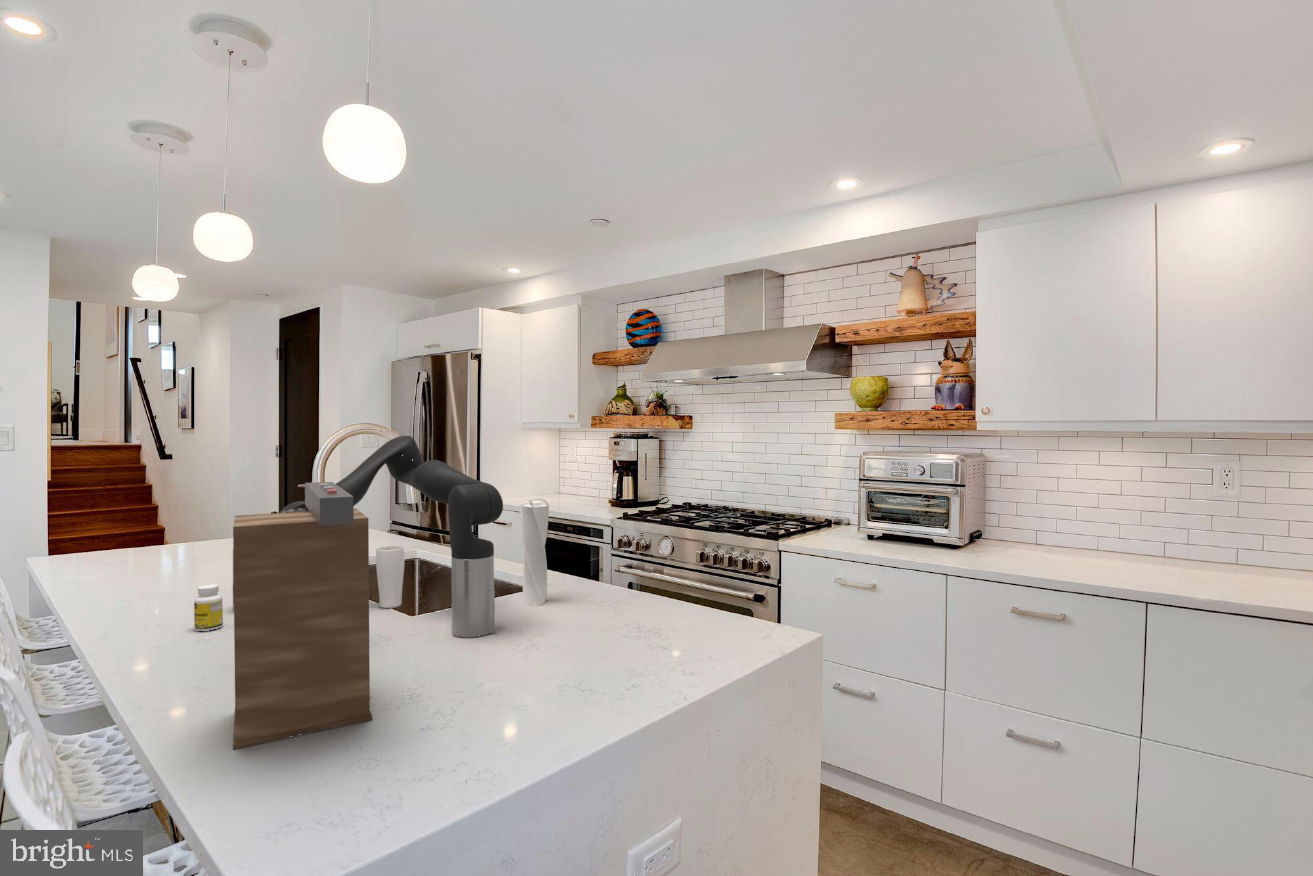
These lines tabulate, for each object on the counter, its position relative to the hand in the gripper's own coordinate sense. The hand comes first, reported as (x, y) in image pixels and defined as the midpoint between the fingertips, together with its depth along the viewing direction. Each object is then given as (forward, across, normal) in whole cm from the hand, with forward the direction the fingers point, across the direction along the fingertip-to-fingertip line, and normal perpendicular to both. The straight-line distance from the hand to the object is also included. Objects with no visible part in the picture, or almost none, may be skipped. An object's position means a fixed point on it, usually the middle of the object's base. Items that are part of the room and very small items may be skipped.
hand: (313, 515), depth 131 cm
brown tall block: (+20, +3, -33) cm, 39 cm away
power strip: (+23, 0, -1) cm, 23 cm away
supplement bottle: (-42, +18, -23) cm, 51 cm away
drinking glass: (-40, -21, -22) cm, 51 cm away
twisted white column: (-24, -54, -24) cm, 64 cm away
